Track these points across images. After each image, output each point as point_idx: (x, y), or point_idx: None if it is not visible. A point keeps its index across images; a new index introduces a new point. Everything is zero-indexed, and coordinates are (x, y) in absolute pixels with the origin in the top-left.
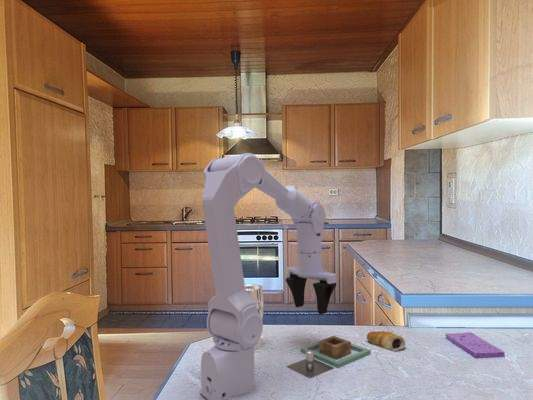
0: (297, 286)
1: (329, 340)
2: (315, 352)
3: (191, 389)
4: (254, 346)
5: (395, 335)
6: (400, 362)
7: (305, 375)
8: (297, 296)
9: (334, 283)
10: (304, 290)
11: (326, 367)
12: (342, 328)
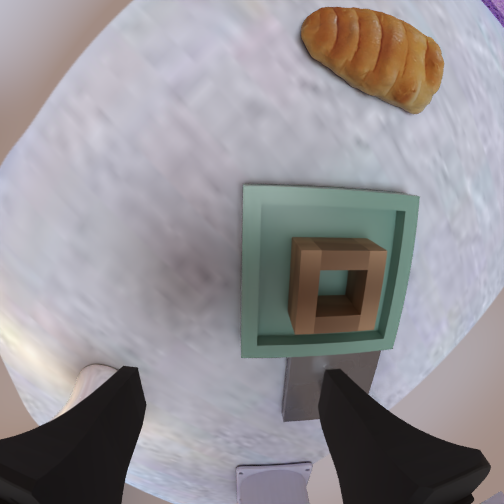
0: (107, 496)
1: (316, 296)
2: (300, 346)
3: (218, 501)
4: None
5: (442, 66)
6: (459, 153)
7: None
8: (127, 446)
9: (481, 481)
10: (95, 421)
11: (364, 362)
12: (146, 21)
